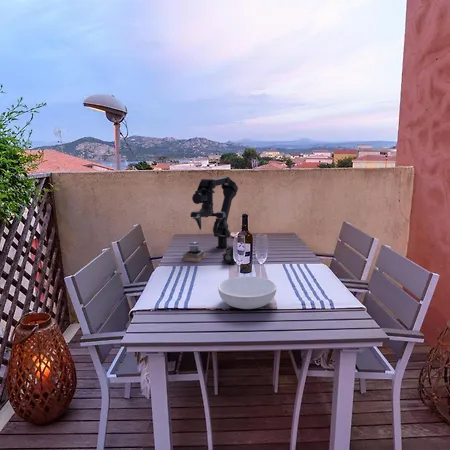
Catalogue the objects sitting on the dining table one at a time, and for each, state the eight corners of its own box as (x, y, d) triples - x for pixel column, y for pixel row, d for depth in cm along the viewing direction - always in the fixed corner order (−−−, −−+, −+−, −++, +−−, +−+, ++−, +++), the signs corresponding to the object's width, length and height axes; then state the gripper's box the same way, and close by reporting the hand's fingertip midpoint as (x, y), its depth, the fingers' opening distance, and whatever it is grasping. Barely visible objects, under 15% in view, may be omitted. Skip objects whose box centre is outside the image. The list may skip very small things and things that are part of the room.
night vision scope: (233, 260, 185) (247, 249, 182) (226, 271, 168) (241, 259, 165) (224, 249, 185) (238, 238, 182) (216, 258, 168) (231, 247, 165)
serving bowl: (241, 288, 138) (241, 272, 137) (287, 301, 125) (287, 283, 124) (206, 305, 122) (205, 287, 121) (254, 322, 109) (254, 302, 108)
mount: (188, 255, 187) (188, 248, 187) (206, 256, 185) (205, 249, 184) (181, 260, 178) (181, 253, 177) (199, 261, 175) (199, 254, 175)
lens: (187, 255, 181) (186, 242, 180) (194, 253, 185) (194, 240, 183) (193, 257, 177) (192, 244, 176) (201, 255, 181) (200, 242, 180)
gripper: (186, 203, 182) (187, 232, 185) (219, 204, 177) (220, 233, 180) (193, 201, 193) (194, 228, 195) (225, 201, 188) (225, 229, 191)
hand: (208, 229), depth 190 cm, fingers open, 9 cm apart
